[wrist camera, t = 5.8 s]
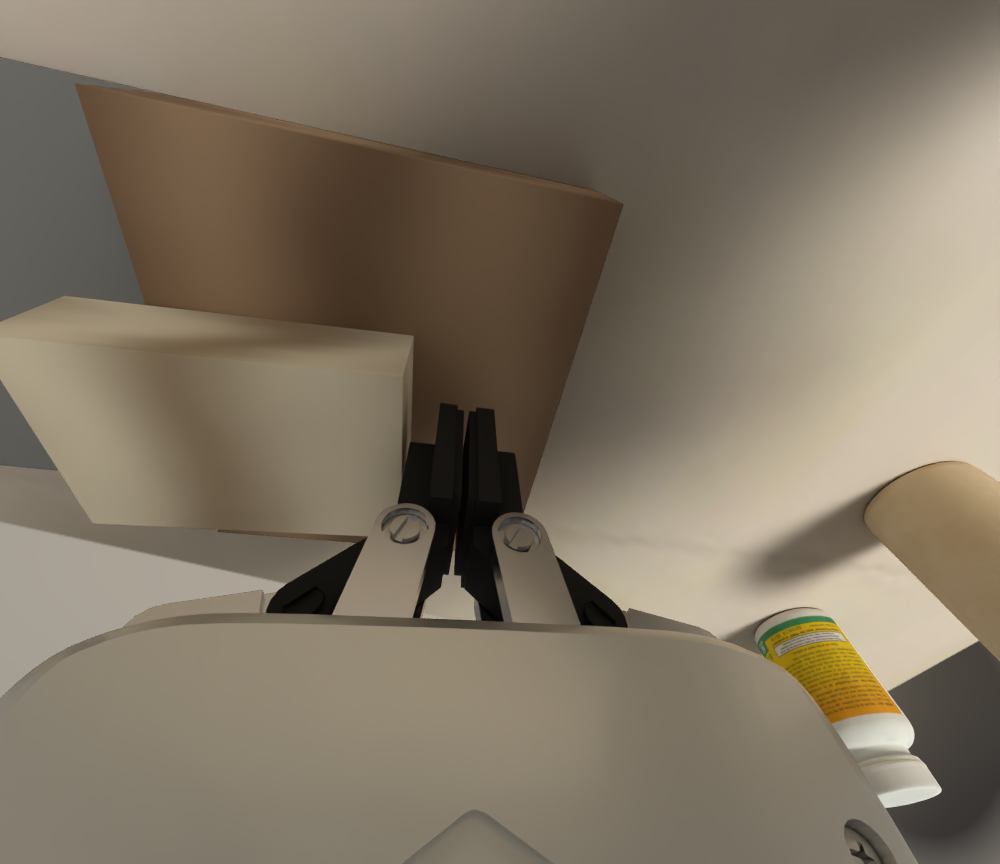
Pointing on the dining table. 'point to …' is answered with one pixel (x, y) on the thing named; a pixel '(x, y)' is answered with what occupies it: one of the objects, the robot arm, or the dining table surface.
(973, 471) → the candle
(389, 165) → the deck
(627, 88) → the dining table surface
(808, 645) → the supplement bottle
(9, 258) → the mat
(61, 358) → the tile
